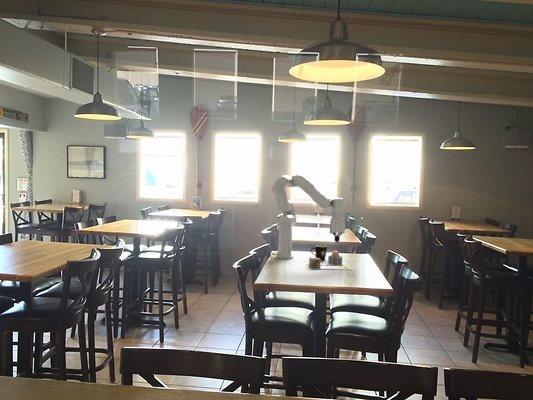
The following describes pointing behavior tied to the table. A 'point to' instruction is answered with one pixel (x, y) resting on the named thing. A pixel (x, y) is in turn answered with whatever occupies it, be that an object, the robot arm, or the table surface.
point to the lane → (334, 269)
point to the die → (314, 262)
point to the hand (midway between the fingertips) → (336, 241)
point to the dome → (335, 254)
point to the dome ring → (335, 260)
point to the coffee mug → (320, 251)
